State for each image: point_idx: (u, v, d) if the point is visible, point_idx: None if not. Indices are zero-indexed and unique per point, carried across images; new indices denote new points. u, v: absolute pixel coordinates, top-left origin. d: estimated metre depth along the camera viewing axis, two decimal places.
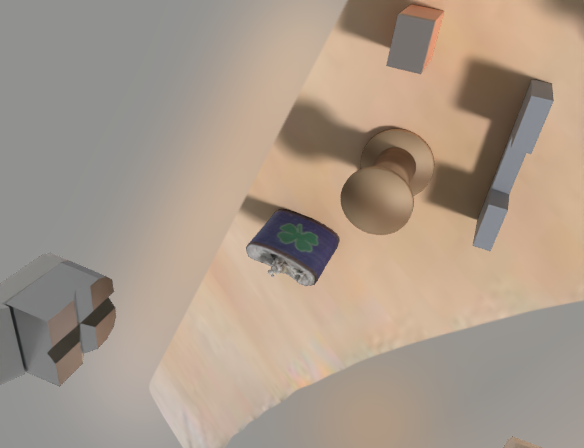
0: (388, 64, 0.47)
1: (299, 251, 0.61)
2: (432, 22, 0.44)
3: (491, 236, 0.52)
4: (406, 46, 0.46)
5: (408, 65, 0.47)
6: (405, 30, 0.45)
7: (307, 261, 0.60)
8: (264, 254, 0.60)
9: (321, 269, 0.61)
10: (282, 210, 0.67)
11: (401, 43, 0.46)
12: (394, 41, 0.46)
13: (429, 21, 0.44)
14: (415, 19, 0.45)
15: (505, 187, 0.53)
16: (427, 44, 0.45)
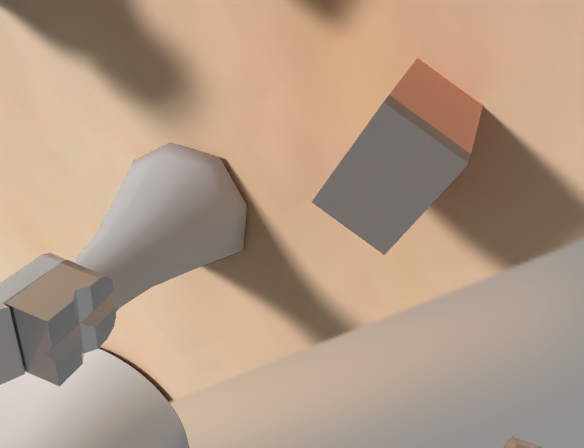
0: (460, 164, 0.16)
1: None
2: (316, 203, 0.19)
3: None
4: (394, 184, 0.17)
5: (409, 138, 0.16)
6: (381, 217, 0.18)
7: None
8: None
9: None
10: None
11: (403, 195, 0.17)
12: (417, 208, 0.17)
13: (322, 207, 0.19)
14: (350, 226, 0.19)
15: None
16: (341, 165, 0.17)
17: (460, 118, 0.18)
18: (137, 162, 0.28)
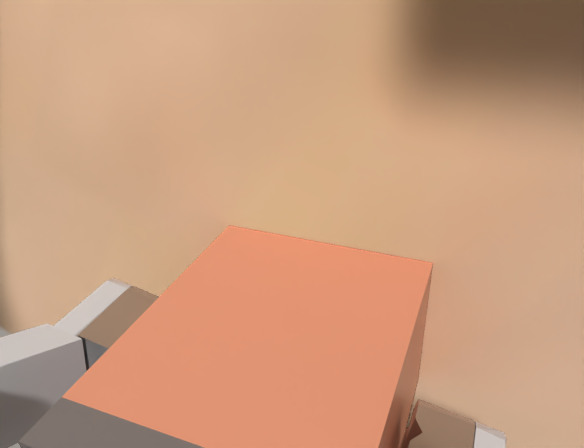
0: None
1: None
2: None
3: None
4: None
5: None
6: None
7: None
8: None
9: None
10: None
11: None
12: None
13: None
14: None
15: None
16: None
17: None
18: None
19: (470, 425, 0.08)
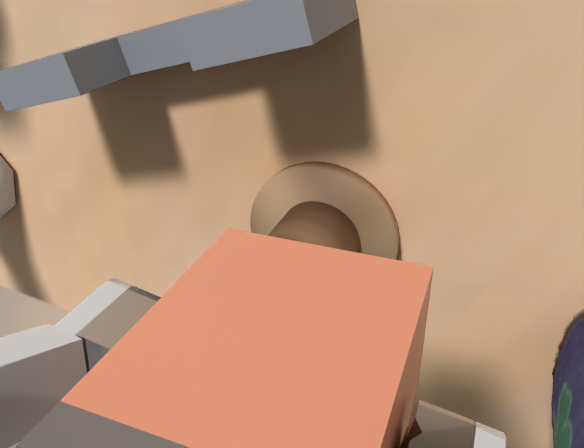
0: None
1: None
2: None
3: (259, 12, 0.18)
4: None
5: None
6: None
7: None
8: None
9: None
10: None
11: None
12: None
13: None
14: None
15: None
16: None
17: None
18: None
19: (471, 425, 0.08)
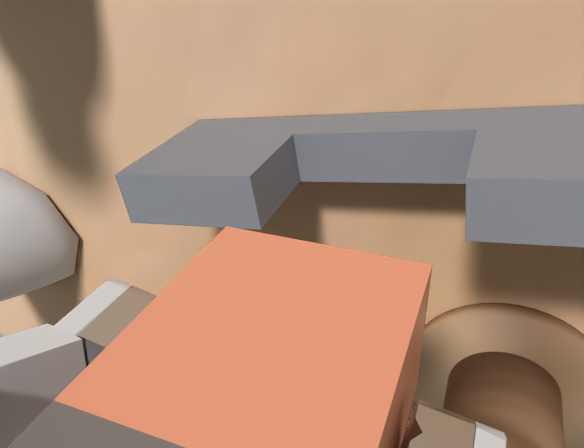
0: None
1: None
2: None
3: None
4: None
5: None
6: None
7: None
8: None
9: None
10: None
11: None
12: None
13: None
14: None
15: (456, 148, 0.16)
16: None
17: None
18: (2, 176, 0.27)
19: (471, 426, 0.08)
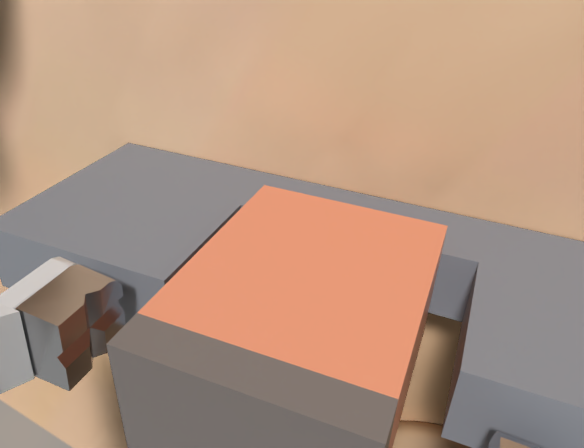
0: None
1: None
2: (111, 352, 0.08)
3: None
4: None
5: None
6: None
7: None
8: None
9: None
10: None
11: None
12: None
13: (114, 362, 0.09)
14: (126, 414, 0.09)
15: (446, 275, 0.12)
16: (213, 386, 0.08)
17: (403, 400, 0.11)
18: None
19: None
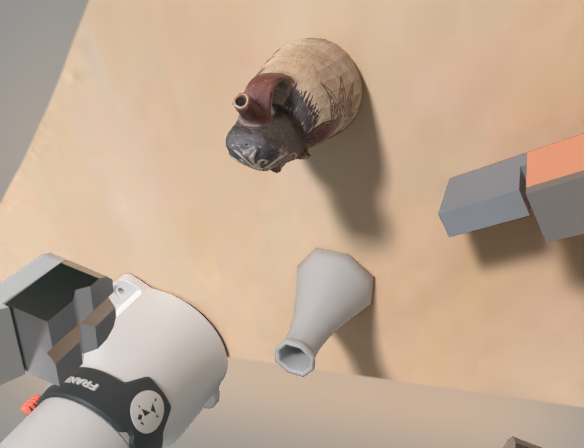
0: None
1: None
2: (528, 195, 0.28)
3: None
4: None
5: None
6: (563, 222, 0.28)
7: None
8: None
9: None
10: None
11: None
12: None
13: (529, 199, 0.28)
14: (538, 218, 0.28)
15: None
16: (564, 184, 0.27)
17: None
18: (320, 252, 0.45)
19: None
